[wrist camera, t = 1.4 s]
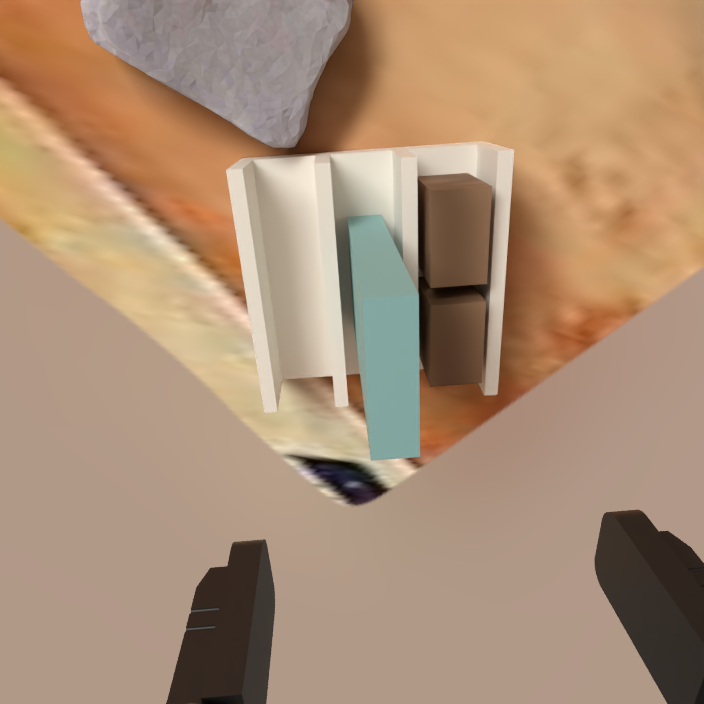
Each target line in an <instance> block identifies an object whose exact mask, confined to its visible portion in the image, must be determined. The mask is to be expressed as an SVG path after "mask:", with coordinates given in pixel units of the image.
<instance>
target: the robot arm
mask: <svg viewBox="0 0 704 704" xmlns="http://www.w3.org/2000/svg"><path fill="white" fill-rule="evenodd" d="M595 570H596V575H597V578H598V581H599V584H600V586H601V588H602V590H603V591H604V593H605V595H606V596H607V598H608V600H609V602H610V603H611V605H612V607H613V609H614V610H615V612H616V614H617V616H618V617H619V619H620V621H621V623H622V624H623V626H624V628H625V630H626V631H627V633H628V635H629V637H630V639H631V640H632V642H633V644H634V646H635V647H636V649H637V651H638V653H639V655H640V656H641V658H642V660H643V661H644V663H645V665H646V667H647V668H648V670H649V672H650V674H651V676H652V677H653V679H654V681H655V682H656V684H657V686H658V688H659V690H660V691H661V693H662V695H663V697H664V698H665V700H666V702H667V704H704V563H703V562H702V561H701V559H700V558H699V557H698V556H697V555H696V553H695V552H694V551H693V550H692V548H691V547H690V546H688V545H687V544H685V543H684V542H683V541H681V540H680V539H678V538H677V537H676V536H674V535H673V534H671V533H670V532H669V531H660V532H659V531H658V530H657V529H656V528H655V526H654V525H653V524H652V522H651V521H650V520H649V519H648V517H647V516H646V515H645V514H644V513H643V512H642V511H640V510H629V511H617V512H606V513H605V514H604V515H603V518H602V523H601V528H600V534H599V539H598V544H597V550H596V555H595ZM274 614H275V591H274V583H273V577H272V571H271V565H270V560H269V554H268V548H267V544H266V540H253V541H241V542H234V543H233V544H232V547H231V551H230V556H229V562H228V566H227V567H215V568H210V569H209V571H208V572H207V574H206V575H205V576H204V578H203V579H202V580H201V582H200V583H199V585H198V586H197V588H196V591H195V595H194V599H193V603H192V607H191V614H189V618H188V622H187V626H186V632H185V634H184V638H183V642H182V645H181V650H180V653H179V657H178V661H177V665H176V669H175V673H174V677H173V681H172V684H171V688H170V692H169V696H168V700H167V703H166V704H266V700H267V689H268V678H269V668H270V657H271V646H272V636H273V624H274Z"/></svg>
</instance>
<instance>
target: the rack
mask: <svg viewBox="0 0 704 704" xmlns="http://www.w3.org/2000/svg"><path fill="white" fill-rule="evenodd" d="M513 160H514V150H513V149H510V148H506V147H503V146H499V145H496V144H492V143H488V142H485V141H480V142H466V143H452V144H438V145H423V146H409V147H395V148H380V149H366V150H352V151H337V152H323V153H309V154H295V155H280V156H266V157H252V158H241V159H240V160H239V161H237V162H236V163H235V164H233V165H232V166H231V167H229V168H228V169H227V170H226V173H227V179H228V185H229V192H230V198H231V204H232V211H233V217H234V223H235V230H236V236H237V242H238V249H239V255H240V262H241V268H242V274H243V281H244V287H245V293H246V300H247V306H248V312H249V319H250V325H251V331H252V338H253V344H254V350H255V357H256V363H257V369H258V376H259V382H260V388H261V395H262V401H263V407H264V413H266V412H278V405H279V399H280V392H281V385H282V380H286V379H299V378H312V377H325V376H333V387H334V398H335V407H344V406H348V394H347V380H346V375H351V374H360V369H359V361H358V353H357V346H356V338H355V330H354V318H353V302H352V287H351V271H350V256H349V241H348V225H347V217H352V216H366V215H380V214H381V216H382V218H383V220H384V222H385V224H386V226H387V228H388V231H389V233H390V235H391V237H392V239H393V241H394V243H395V245H396V247H397V250H398V252H399V254H400V256H401V258H402V260H403V262H404V264H405V267H406V269H407V271H408V273H409V275H410V277H411V279H412V281H413V283H414V286H415V288H416V290H417V292H418V277H424V275H423V273H422V271H421V270H420V268H419V266H418V183H417V176H430V175H444V174H458V173H469V174H470V175H472V176H474V177H476V178H478V179H480V180H482V181H483V182H485V183H487V184H489V185H491V186H492V198H491V217H490V236H489V255H488V275H487V284H479V285H473V286H474V287H475V288H476V289H477V291H478V292H479V293H480V294H481V296H482V297H483V298H484V300H485V301H486V313H485V332H484V351H483V370H482V383H478V384H479V386H480V388H481V390H482V392H483V394H484V396H486V395H498V381H499V366H500V352H501V337H502V322H503V307H504V293H505V278H506V263H507V248H508V234H509V219H510V204H511V189H512V175H513ZM419 369H424V368H423V365H422V362H421V360H420V357H419Z"/></svg>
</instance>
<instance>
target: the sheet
mask: <svg viewBox="0 0 704 704" xmlns="http://www.w3.org/2000/svg"><path fill="white" fill-rule="evenodd" d="M347 225H348V241H349V256H350V271H351V287H352V302H353V318H354V330H355V338H356V346H357V353H358V361H359V369H360V377H361V385H362V393H363V401H364V409H365V417H366V425H367V432H368V440H369V448H370V456H371V461H372V460H385V459H397V458H410V457H420V397H419V294H418V292H417V290H416V288H415V286H414V283H413V281H412V279H411V277H410V275H409V273H408V271H407V269H406V267H405V264H404V262H403V260H402V258H401V256H400V254H399V252H398V250H397V247H396V245H395V243H394V241H393V239H392V237H391V235H390V233H389V231H388V228H387V226H386V224H385V222H384V220H383V218H382V216H381V214H380V215H366V216H352V217H347Z"/></svg>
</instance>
